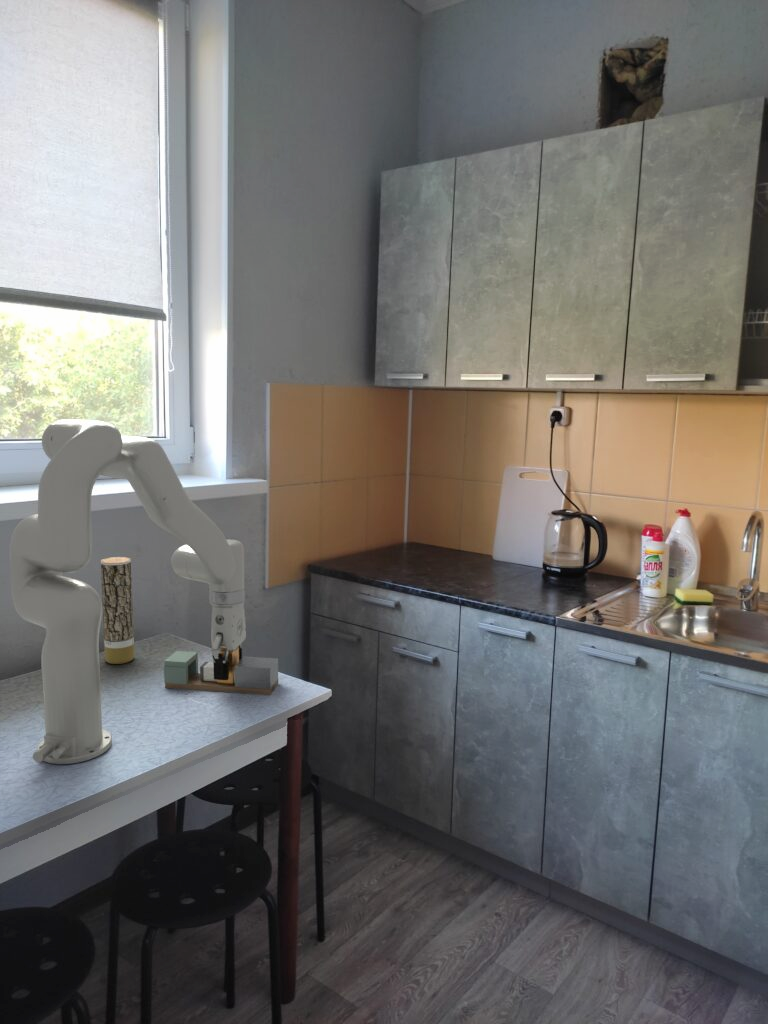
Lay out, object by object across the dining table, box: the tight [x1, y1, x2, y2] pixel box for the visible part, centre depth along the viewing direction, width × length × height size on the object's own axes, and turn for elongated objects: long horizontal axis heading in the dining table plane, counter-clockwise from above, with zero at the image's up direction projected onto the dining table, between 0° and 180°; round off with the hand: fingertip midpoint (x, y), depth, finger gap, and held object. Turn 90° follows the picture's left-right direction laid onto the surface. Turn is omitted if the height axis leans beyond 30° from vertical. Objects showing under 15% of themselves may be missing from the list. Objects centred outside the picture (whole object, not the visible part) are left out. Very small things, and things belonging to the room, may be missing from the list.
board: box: [164, 672, 279, 696], centre depth 164 cm, size 7×24×1 cm, turn 82°
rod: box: [199, 646, 239, 684], centre depth 163 cm, size 4×15×7 cm, turn 82°
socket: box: [163, 650, 199, 684], centre depth 165 cm, size 7×5×5 cm
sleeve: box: [235, 655, 279, 689], centre depth 163 cm, size 6×8×5 cm
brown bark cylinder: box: [100, 556, 135, 665], centre depth 177 cm, size 7×7×25 cm
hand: (228, 671), depth 164 cm, fingers open, 8 cm apart
